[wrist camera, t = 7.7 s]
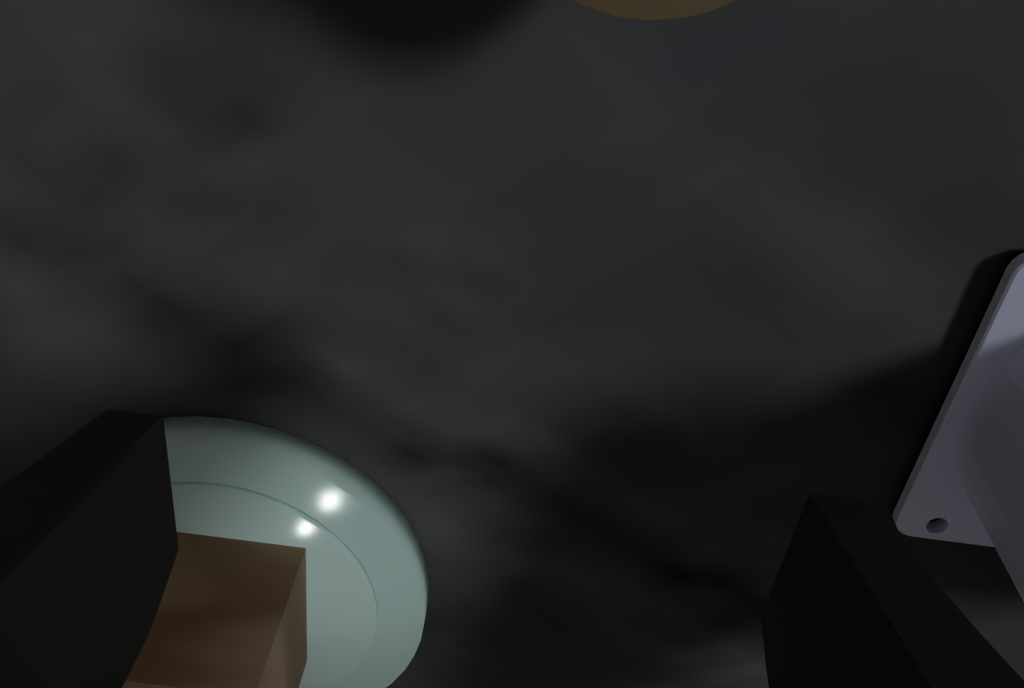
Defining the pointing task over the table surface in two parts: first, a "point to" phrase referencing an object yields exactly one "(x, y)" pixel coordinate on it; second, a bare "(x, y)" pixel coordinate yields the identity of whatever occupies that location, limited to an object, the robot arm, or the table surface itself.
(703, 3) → the balance
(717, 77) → the table surface
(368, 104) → the table surface
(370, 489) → the dish
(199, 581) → the block
